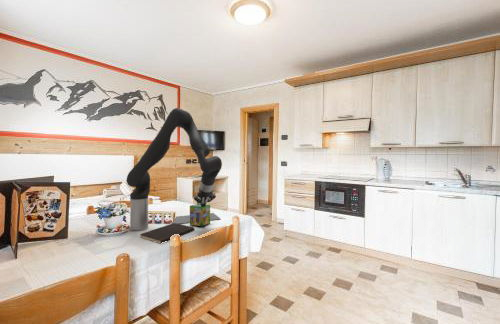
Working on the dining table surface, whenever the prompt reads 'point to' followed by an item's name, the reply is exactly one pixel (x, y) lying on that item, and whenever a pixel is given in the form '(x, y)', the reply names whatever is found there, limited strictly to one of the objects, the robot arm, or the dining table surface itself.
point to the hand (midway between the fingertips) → (202, 205)
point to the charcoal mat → (187, 219)
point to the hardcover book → (167, 232)
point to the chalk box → (199, 215)
